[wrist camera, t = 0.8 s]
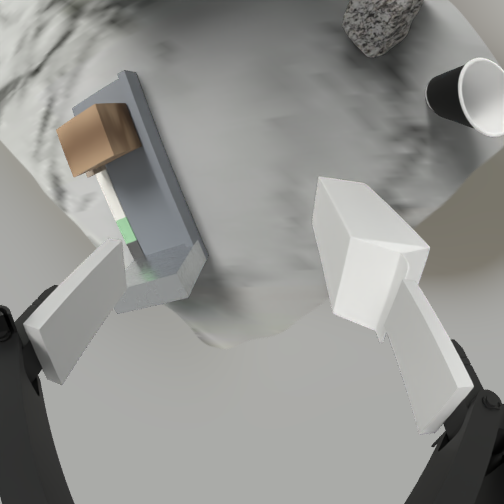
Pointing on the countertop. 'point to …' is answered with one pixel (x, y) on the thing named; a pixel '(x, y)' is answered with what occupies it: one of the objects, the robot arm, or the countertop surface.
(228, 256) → the countertop surface
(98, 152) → the block
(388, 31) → the rock
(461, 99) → the dixie cup
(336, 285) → the milk
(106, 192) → the gauge track
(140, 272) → the grey metal block
